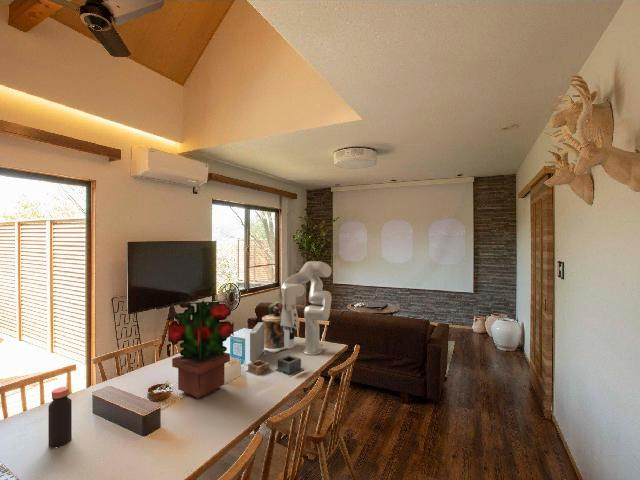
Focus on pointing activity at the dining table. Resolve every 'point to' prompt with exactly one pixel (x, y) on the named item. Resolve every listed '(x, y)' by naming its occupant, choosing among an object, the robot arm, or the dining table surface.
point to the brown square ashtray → (258, 367)
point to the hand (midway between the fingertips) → (289, 338)
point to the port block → (289, 365)
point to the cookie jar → (273, 330)
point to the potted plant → (201, 346)
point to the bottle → (59, 418)
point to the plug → (288, 338)
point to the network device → (257, 341)
